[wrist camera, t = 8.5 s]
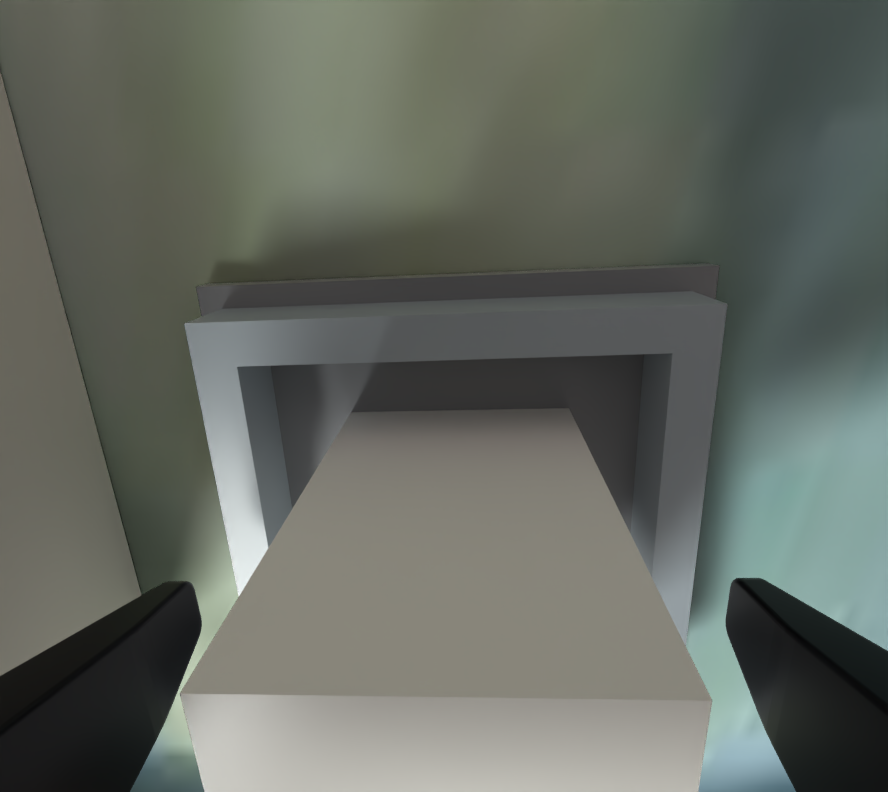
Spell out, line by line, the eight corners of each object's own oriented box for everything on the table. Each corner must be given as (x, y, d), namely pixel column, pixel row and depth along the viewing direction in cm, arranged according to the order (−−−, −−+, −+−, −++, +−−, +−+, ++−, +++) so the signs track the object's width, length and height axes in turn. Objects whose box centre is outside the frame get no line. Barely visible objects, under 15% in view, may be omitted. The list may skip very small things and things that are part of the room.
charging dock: (708, 262, 10) (760, 274, 9) (664, 668, 14) (695, 742, 12) (207, 283, 11) (153, 297, 9) (277, 666, 14) (247, 736, 12)
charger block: (568, 407, 11) (723, 722, 4) (562, 591, 12) (668, 1045, 6) (351, 412, 11) (167, 713, 5) (368, 591, 13) (250, 1024, 6)
